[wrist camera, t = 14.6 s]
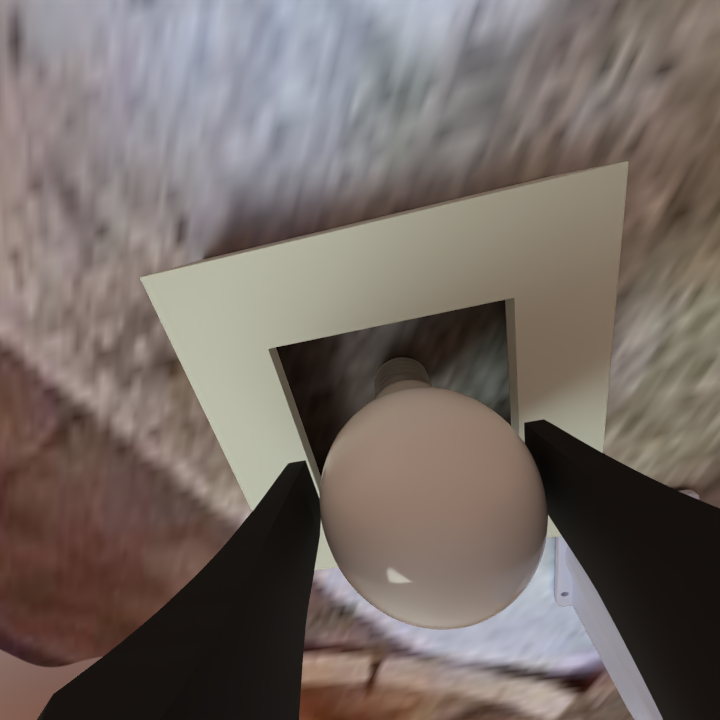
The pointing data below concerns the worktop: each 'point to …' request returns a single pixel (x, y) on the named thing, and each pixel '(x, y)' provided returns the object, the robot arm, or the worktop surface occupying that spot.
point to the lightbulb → (432, 503)
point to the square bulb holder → (407, 309)
